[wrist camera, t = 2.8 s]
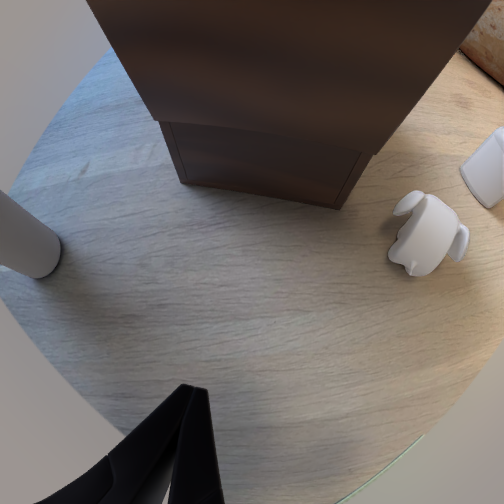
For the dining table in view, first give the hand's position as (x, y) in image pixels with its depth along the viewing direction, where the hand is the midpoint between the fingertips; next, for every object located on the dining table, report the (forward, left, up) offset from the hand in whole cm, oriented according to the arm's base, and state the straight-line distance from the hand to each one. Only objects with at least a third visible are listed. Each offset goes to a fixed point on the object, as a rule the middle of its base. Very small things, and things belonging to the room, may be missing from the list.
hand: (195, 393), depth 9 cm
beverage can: (-8, +17, -14) cm, 23 cm away
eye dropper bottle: (+31, -3, -14) cm, 34 cm away
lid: (+10, +9, +2) cm, 13 cm away
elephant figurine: (+18, -2, -14) cm, 22 cm away
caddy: (+15, +14, -14) cm, 25 cm away
